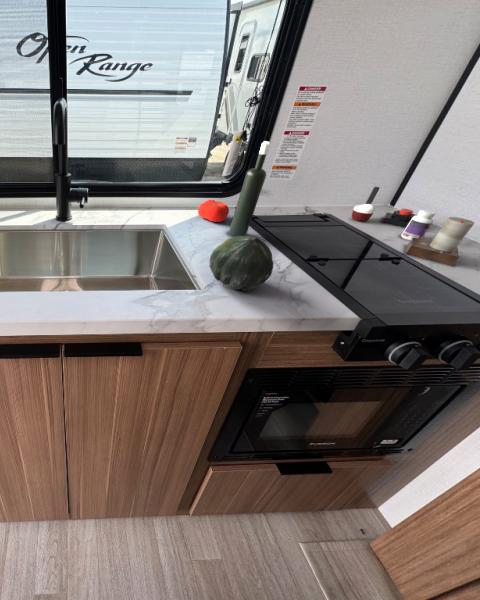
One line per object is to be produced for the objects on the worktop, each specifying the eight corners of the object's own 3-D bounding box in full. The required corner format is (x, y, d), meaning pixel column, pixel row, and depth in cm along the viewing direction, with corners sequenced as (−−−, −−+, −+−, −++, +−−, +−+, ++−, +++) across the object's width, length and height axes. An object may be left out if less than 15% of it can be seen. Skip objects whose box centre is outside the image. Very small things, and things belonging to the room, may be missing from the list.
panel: (455, 256, 103) (462, 247, 101) (456, 267, 97) (463, 257, 95) (407, 244, 109) (413, 236, 108) (405, 254, 103) (411, 245, 102)
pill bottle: (421, 242, 111) (440, 215, 105) (402, 239, 113) (419, 212, 108) (418, 237, 115) (436, 210, 109) (399, 233, 117) (416, 207, 111)
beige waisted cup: (429, 242, 104) (449, 214, 99) (453, 247, 101) (474, 219, 96) (429, 247, 101) (449, 219, 95) (453, 253, 98) (475, 224, 92)
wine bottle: (249, 236, 113) (281, 142, 95) (236, 238, 111) (266, 143, 94) (237, 230, 117) (266, 139, 100) (224, 232, 115) (252, 140, 98)
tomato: (213, 226, 120) (218, 209, 116) (192, 216, 128) (195, 200, 124) (231, 221, 124) (236, 204, 120) (209, 212, 132) (213, 196, 128)
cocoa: (359, 224, 124) (376, 193, 117) (343, 218, 128) (358, 188, 122) (375, 221, 127) (392, 190, 120) (358, 216, 131) (375, 186, 125)
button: (410, 214, 123) (413, 210, 122) (410, 217, 121) (413, 212, 120) (398, 212, 125) (401, 207, 124) (398, 214, 123) (400, 210, 122)
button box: (416, 224, 125) (422, 214, 123) (415, 230, 120) (422, 219, 118) (383, 217, 130) (389, 207, 128) (381, 222, 126) (387, 212, 123)
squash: (231, 244, 95) (227, 216, 82) (283, 264, 86) (288, 237, 74) (203, 283, 94) (195, 261, 82) (253, 308, 86) (253, 287, 74)
